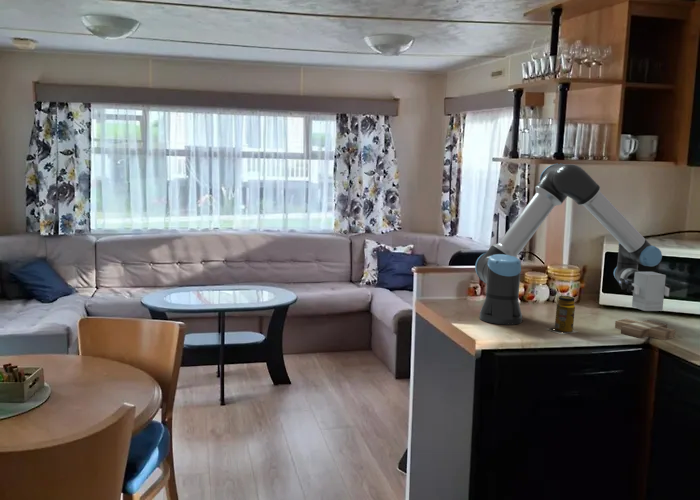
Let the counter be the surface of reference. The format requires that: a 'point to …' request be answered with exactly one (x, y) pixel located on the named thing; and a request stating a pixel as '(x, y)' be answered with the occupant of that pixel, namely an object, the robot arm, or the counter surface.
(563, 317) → the condiment
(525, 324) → the counter surface
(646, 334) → the cross stand
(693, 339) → the counter surface
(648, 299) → the supplement box
